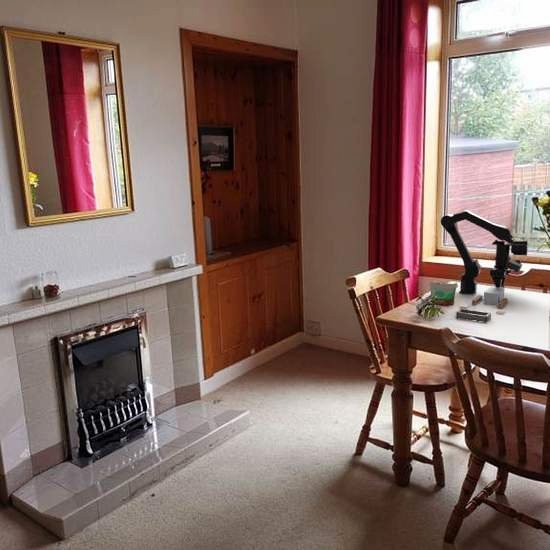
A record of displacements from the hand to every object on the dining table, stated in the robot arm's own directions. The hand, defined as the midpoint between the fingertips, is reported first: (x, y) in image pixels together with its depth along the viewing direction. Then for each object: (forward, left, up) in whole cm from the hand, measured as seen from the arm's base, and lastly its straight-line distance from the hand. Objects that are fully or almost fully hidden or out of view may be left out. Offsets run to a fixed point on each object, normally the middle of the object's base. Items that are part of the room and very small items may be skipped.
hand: (500, 287), depth 258 cm
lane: (0, -18, -4) cm, 18 cm away
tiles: (0, -30, -4) cm, 30 cm away
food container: (-17, -30, -4) cm, 35 cm away
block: (0, -11, -4) cm, 12 cm away
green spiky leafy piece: (-16, -49, -4) cm, 52 cm away
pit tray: (0, -43, -4) cm, 43 cm away
